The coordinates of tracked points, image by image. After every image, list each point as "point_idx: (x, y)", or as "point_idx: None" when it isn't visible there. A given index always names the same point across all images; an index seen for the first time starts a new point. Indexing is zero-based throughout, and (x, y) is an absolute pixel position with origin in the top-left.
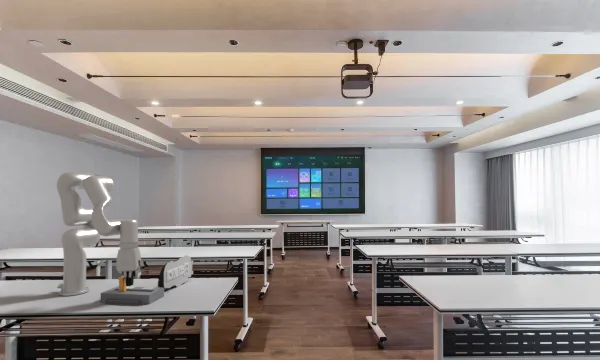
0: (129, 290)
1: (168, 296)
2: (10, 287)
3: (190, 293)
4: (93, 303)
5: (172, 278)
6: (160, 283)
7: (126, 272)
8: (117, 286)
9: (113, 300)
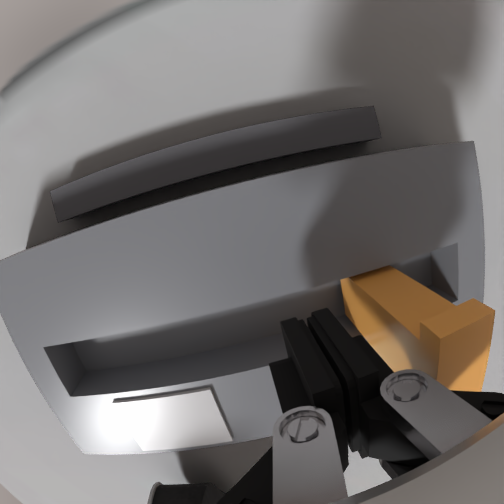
0: None
1: None
2: None
3: (46, 461)
4: (439, 106)
5: None
6: (179, 502)
7: (429, 455)
8: None
9: (296, 123)
